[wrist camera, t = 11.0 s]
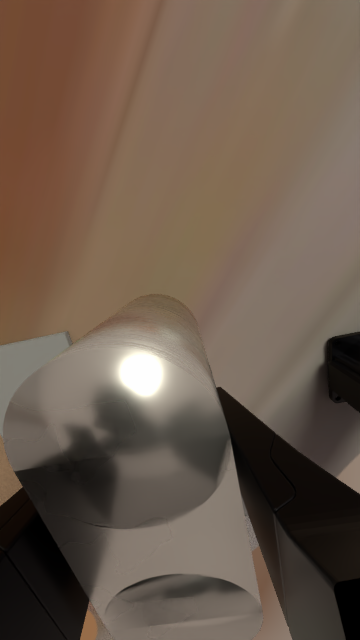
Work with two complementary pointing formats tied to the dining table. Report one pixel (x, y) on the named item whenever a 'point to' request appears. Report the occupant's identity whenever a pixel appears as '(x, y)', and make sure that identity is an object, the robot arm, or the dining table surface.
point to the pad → (26, 363)
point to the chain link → (140, 477)
